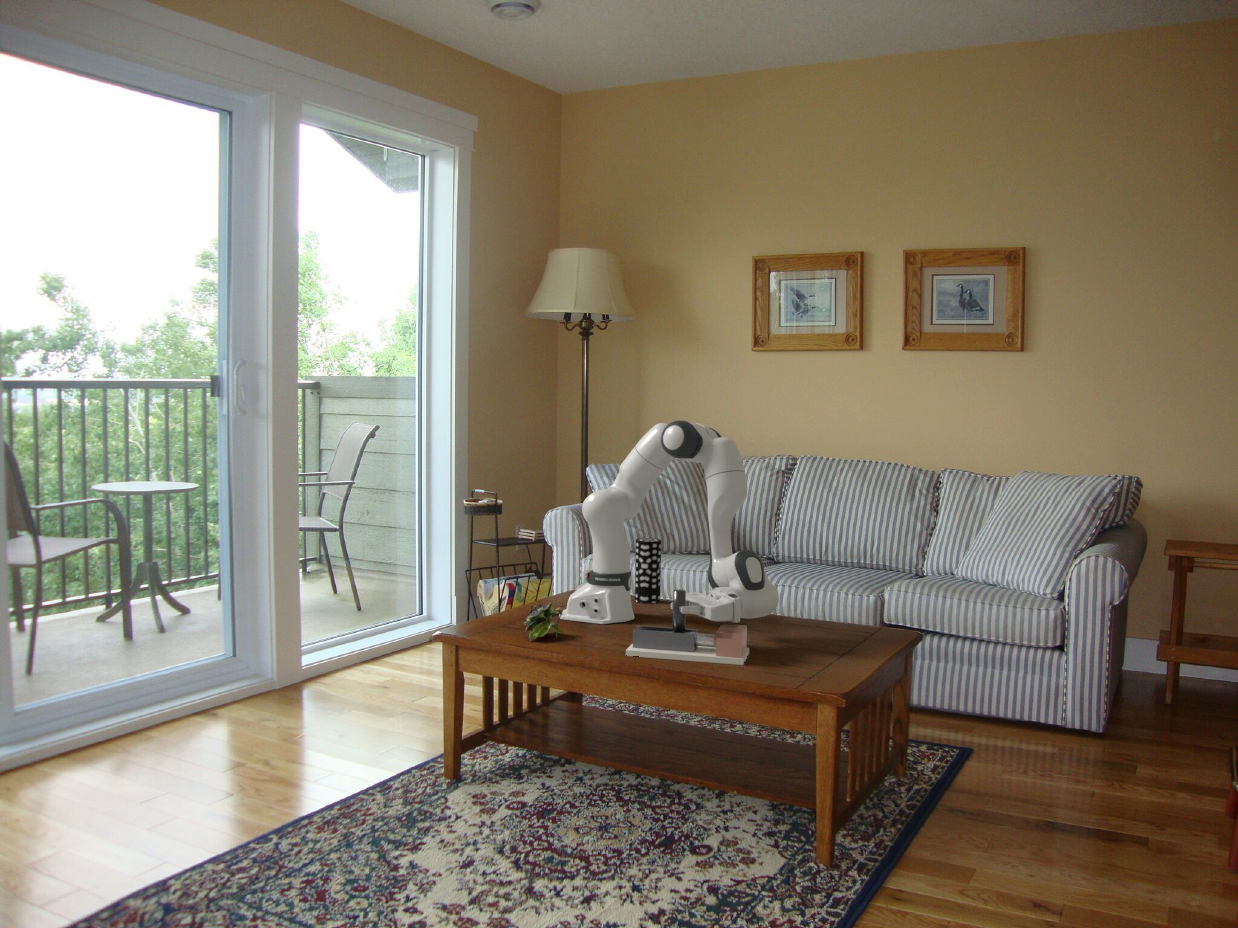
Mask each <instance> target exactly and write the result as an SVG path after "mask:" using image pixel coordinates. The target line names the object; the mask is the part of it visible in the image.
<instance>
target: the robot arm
mask: <svg viewBox="0 0 1238 928" xmlns="http://www.w3.org/2000/svg"><path fill="white" fill-rule="evenodd" d="M674 459H678V460H681V461H684V462H688V463H697V464H701V466H702V467H703V471H704V473H703V474H704V479H705V484H706V491H707V509H706V523H707V525H706V526H707V536H708V547H709V565H708V569H707V570H708V571H707V579H708V583H709V586H710V587H711V588H712V589H711V590H710V593H708V594H705V593H702V592H695V591H693V592H690V591H688V592H686V605H685V606H680V607H679V609H680V610H679V611H680V613H683V614H685V615H687V614H690V615H696V616H698V617H700V618H704V619H706V620H709V621H712V622H730V623H737V624H738V623H740V622H741V619H749V620H750V619H755V618H756V619H757V618H762V617H766V616H769V615H771V614H772V613H774V612H775V611H776V609H777V607H778V605H779V599H780V595H779V591H778V589H777V587H776V586H775V585H774V584H773V583H772V582H771V581H770V579H769V577H768V576H767V574H766V572H765V565H764V562H763V559H762V558H761V556H760V555H759V554H758V553H757V552H755V551H754V550H752V549H741V550H740V551H737V552H735V553H733V549H732V535H731V527H732V526H731V524H732V522H733V519H734V517H735V515H736V514H737V512H738V511H739V510H740V508H741V507H742V505H743V504H744V503H745V501H746V499H747V496H748V480H747V479H748V478H747V475H746V470H745V466H744V463H743V459H742V455H741V453H740V450H739V447H738V445H737V443H736V442H735V441H734V440H733V439H731V438H729V437H724V436H722V435H721V434H720V433H719V432H718V430H716V429H714V428H712V427H708V426H706V425H703V424H701V423H698V422H689V421H687V420H674V421H671V422H669V423H666V422H658V423H656V424H655V425H654V426H652V427H651V428H650V429H649V430H648V431H646V433H645V434H644V435H643V436H642V437H641V438H640V439H639V440H638V442H637V443H636V444H635V446H634V447H633V448H632V449H631V451H630V452H629V453H628V455H627V456H626V457H625V458H624V460H623V461H622V463H621V464H620V466H619V471H618V473H617V476H616V477H615V479H614V481H613V482H612V484H610V486H608V487H607V488H602V489H597V490H595V491H593V492H592V493H591V494H589V495H588V496H587V497H585V499H584V501H583V503H582V505H581V512H582V516H583V519H584V520H585V521H586V522H587V523H588V527H589V533H590V537H591V542H592V543H591V544H592V568H591V569H588V570H589V571H588V573H587V574H586V577H585V578H586V581H587V583H586V584H584V585H583V586H582V587H580V588H579V589H578V590H576V589H575V590H574V592H573V593H571V594H570V596H569V598H568V600H567V603H566V608H565V609H562V611H563V612H562V615H561V617H560V620H566V621H572V622H573V621H574V622H582V623H590V624H599V625H608V624H613V623H624V622H629V621H632V620H634V619H635V614H634V610H633V606H632V605H633V603H632V596H631V590H632V571H631V544H630V542H629V541H628V540H627V539H628V538H627V536H626V532H625V526H624V523H627V522H629V521H631V520H632V519H634V518H635V517H636V516H637V515H638V513H640V510H641V507H642V504H643V502H644V501H645V499H646V497H647V494H648V493H649V491H650V489H651V488H652V487H653V485H654V484H655V483H656V482H657V480H658V479H659V478H660V476H662V474H663V472H664V471H665V470H666V468H667V467H668V466H669V464H670V463H671V462H672V461H673V460H674ZM670 609H671V610H673V601H672V602H671V603H670ZM559 616H560V614H559ZM559 616H558V617H559Z"/></svg>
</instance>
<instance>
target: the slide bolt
mask: <svg viewBox="0 0 1238 928" xmlns="http://www.w3.org/2000/svg"><path fill="white" fill-rule="evenodd" d="M672 593H673V595H672V598H673V599H672V602H673V609H672V628H673V632H680V633H686V632H685V629H686V614H683V613H680V611H679V610H680V609H679V607H680V606H685V605H686V593H687V590H685V589H681V588H679V589H673V591H672ZM671 632H672V631H671ZM694 634H695V643H694V646H704V647H716V634H713V633H699V632H698V633H694Z"/></svg>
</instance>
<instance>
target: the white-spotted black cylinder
mask: <svg viewBox="0 0 1238 928" xmlns="http://www.w3.org/2000/svg"><path fill="white" fill-rule="evenodd" d="M634 553H635V556H634V557H635V559H634V560H635V563H634V569H635V570H634V571H635V572H634V602H635V601H636V602H635V603H637V602H639V603H638V604H643V603H654V604H658V603H661V592H662V591H661V590H662V589H661V587H662V586H661V578H662V577H661V576H662V575H661V574H662V571H661V570H662V539H659V538H654V537H653V538H652V537H651V538H647V537H646V538H645V537H644V538H643V537H642V538H641V537H640V538H635V552H634Z"/></svg>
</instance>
